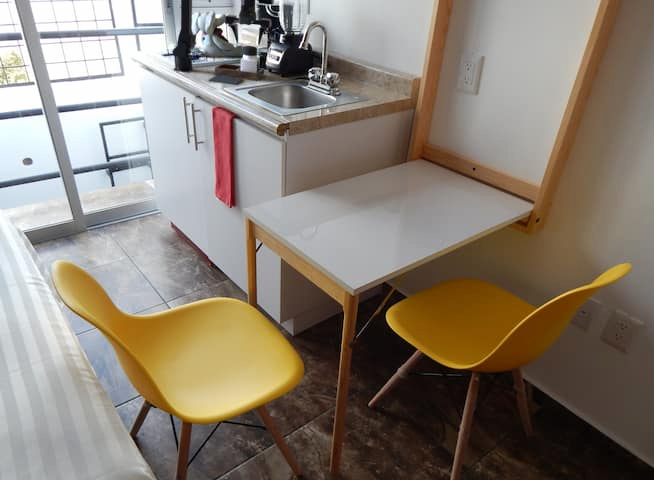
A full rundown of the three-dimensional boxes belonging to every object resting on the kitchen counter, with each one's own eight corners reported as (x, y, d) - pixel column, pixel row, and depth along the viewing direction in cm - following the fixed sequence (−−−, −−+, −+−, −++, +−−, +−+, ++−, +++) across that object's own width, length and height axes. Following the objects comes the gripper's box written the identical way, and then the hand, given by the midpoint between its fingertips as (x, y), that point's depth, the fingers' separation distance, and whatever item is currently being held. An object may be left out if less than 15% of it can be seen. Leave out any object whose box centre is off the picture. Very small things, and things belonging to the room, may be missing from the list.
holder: (215, 74, 211) (214, 67, 209) (223, 70, 219) (223, 63, 218) (257, 80, 208) (257, 73, 207) (264, 75, 217) (264, 68, 215)
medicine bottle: (257, 78, 210) (257, 48, 203) (240, 76, 210) (240, 47, 203) (258, 74, 216) (259, 45, 209) (243, 73, 216) (242, 44, 209)
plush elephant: (223, 48, 259) (222, 5, 248) (248, 56, 247) (248, 11, 235) (179, 52, 243) (175, 5, 232) (203, 61, 231) (201, 12, 219)
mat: (208, 80, 202) (208, 79, 202) (217, 76, 209) (216, 75, 209) (236, 84, 200) (236, 83, 200) (243, 79, 208) (243, 78, 207)
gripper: (220, 2, 189) (222, 45, 198) (267, 6, 189) (266, 49, 198) (227, -1, 199) (228, 40, 207) (272, 3, 198) (270, 44, 207)
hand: (248, 44), depth 205 cm, fingers open, 9 cm apart
